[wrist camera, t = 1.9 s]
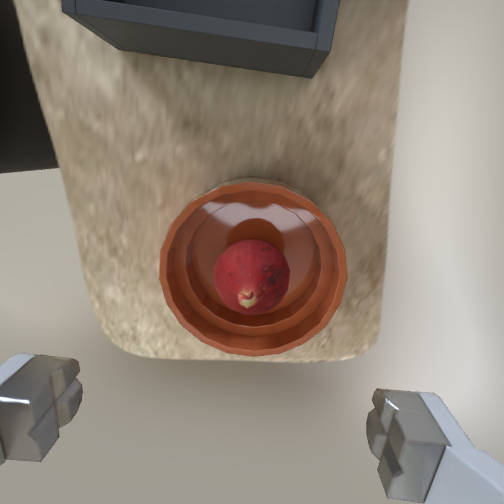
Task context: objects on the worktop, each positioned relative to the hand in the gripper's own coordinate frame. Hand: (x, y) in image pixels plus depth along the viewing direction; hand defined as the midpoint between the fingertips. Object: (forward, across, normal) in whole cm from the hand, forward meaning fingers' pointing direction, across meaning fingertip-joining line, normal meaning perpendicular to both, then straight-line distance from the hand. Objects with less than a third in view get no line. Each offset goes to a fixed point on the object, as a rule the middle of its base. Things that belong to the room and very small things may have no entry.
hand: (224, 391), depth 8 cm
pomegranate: (+19, 0, +3) cm, 19 cm away
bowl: (+19, 0, +3) cm, 19 cm away
